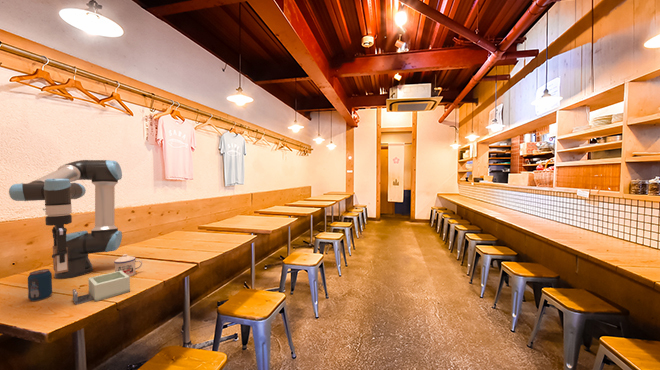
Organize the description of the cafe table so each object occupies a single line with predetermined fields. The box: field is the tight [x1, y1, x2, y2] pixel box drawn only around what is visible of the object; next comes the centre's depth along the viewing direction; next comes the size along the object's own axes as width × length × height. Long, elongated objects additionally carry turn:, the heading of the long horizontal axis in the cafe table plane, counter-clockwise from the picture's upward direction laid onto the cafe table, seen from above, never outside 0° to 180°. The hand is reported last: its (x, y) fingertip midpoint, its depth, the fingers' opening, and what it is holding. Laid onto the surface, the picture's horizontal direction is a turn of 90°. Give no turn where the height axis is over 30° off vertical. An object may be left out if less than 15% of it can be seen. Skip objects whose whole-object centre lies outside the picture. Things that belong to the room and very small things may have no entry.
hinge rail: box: [71, 288, 94, 306], centre depth 109 cm, size 8×6×5 cm
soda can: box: [27, 268, 53, 302], centre depth 111 cm, size 7×7×12 cm
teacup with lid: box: [113, 253, 143, 278], centre depth 137 cm, size 12×9×12 cm
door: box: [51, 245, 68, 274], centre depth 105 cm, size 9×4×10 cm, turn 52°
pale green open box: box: [87, 271, 131, 302], centre depth 116 cm, size 14×12×7 cm
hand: (60, 267), depth 106 cm, fingers closed on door, 9 cm apart
